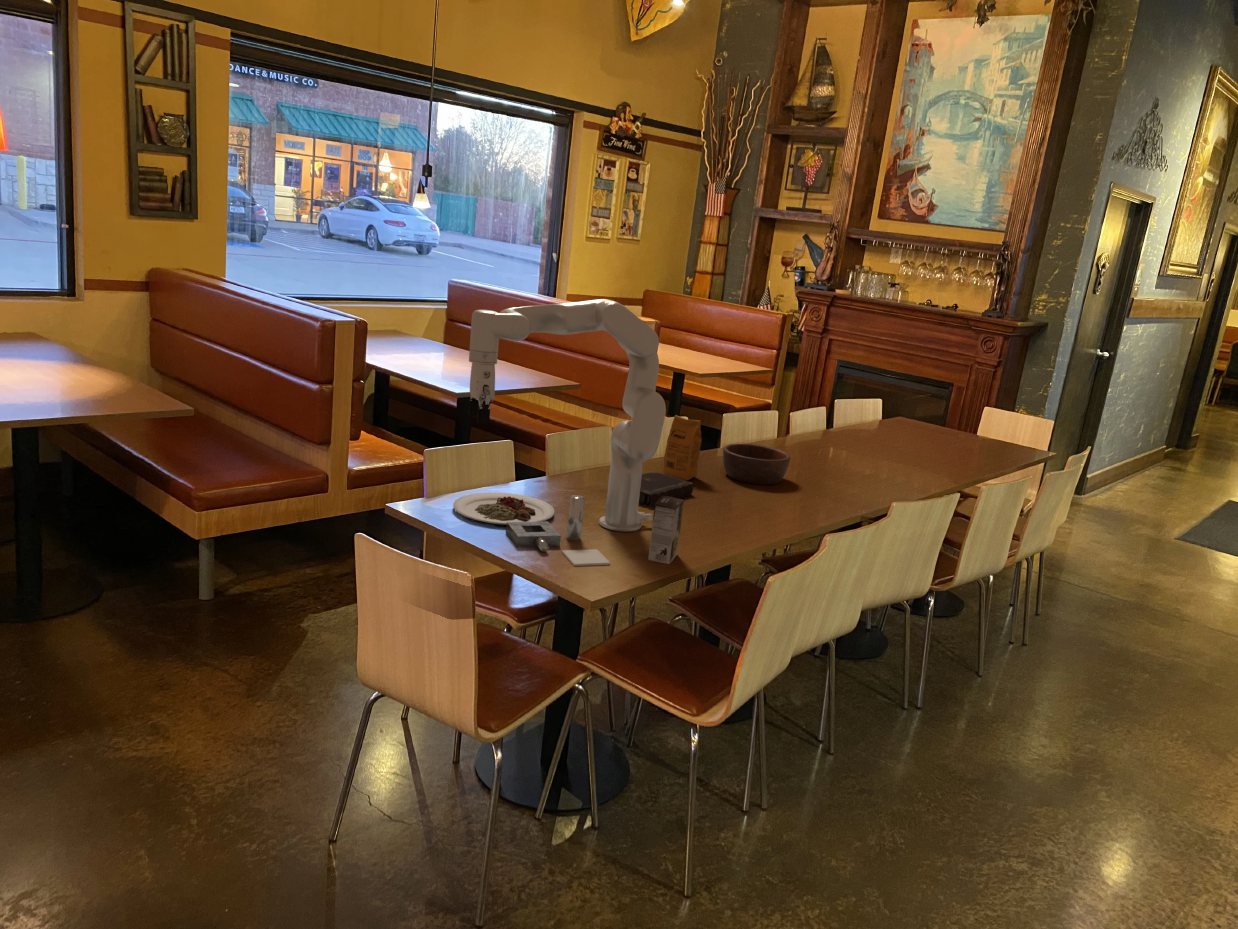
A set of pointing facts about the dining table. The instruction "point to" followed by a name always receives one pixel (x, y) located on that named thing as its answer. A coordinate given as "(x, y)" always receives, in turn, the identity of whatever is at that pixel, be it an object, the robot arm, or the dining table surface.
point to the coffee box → (666, 529)
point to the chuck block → (533, 534)
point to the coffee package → (682, 449)
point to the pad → (585, 557)
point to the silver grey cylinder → (575, 517)
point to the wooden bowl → (755, 463)
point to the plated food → (503, 508)
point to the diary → (662, 488)
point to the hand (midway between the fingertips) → (478, 419)
